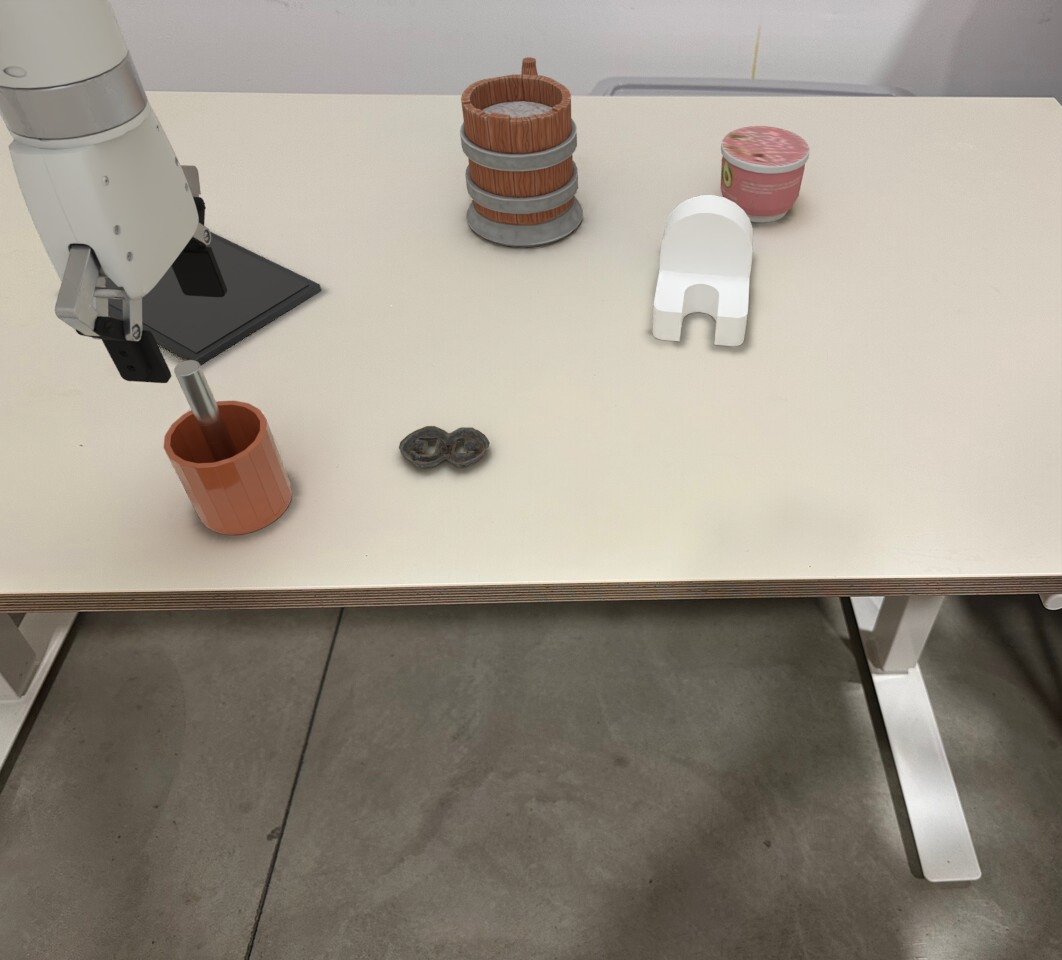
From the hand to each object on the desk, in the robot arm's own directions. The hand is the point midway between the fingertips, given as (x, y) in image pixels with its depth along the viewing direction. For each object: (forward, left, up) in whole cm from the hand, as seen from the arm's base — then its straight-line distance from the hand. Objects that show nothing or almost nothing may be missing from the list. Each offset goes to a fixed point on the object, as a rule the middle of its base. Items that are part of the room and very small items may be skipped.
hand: (178, 334), depth 63 cm
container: (+69, -12, -18) cm, 72 cm away
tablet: (+17, +29, -18) cm, 38 cm away
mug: (+52, +11, -18) cm, 56 cm away
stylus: (0, 0, -17) cm, 17 cm away
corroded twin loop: (+14, -10, -18) cm, 24 cm away
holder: (0, 0, -18) cm, 18 cm away
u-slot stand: (+49, -16, -18) cm, 54 cm away
